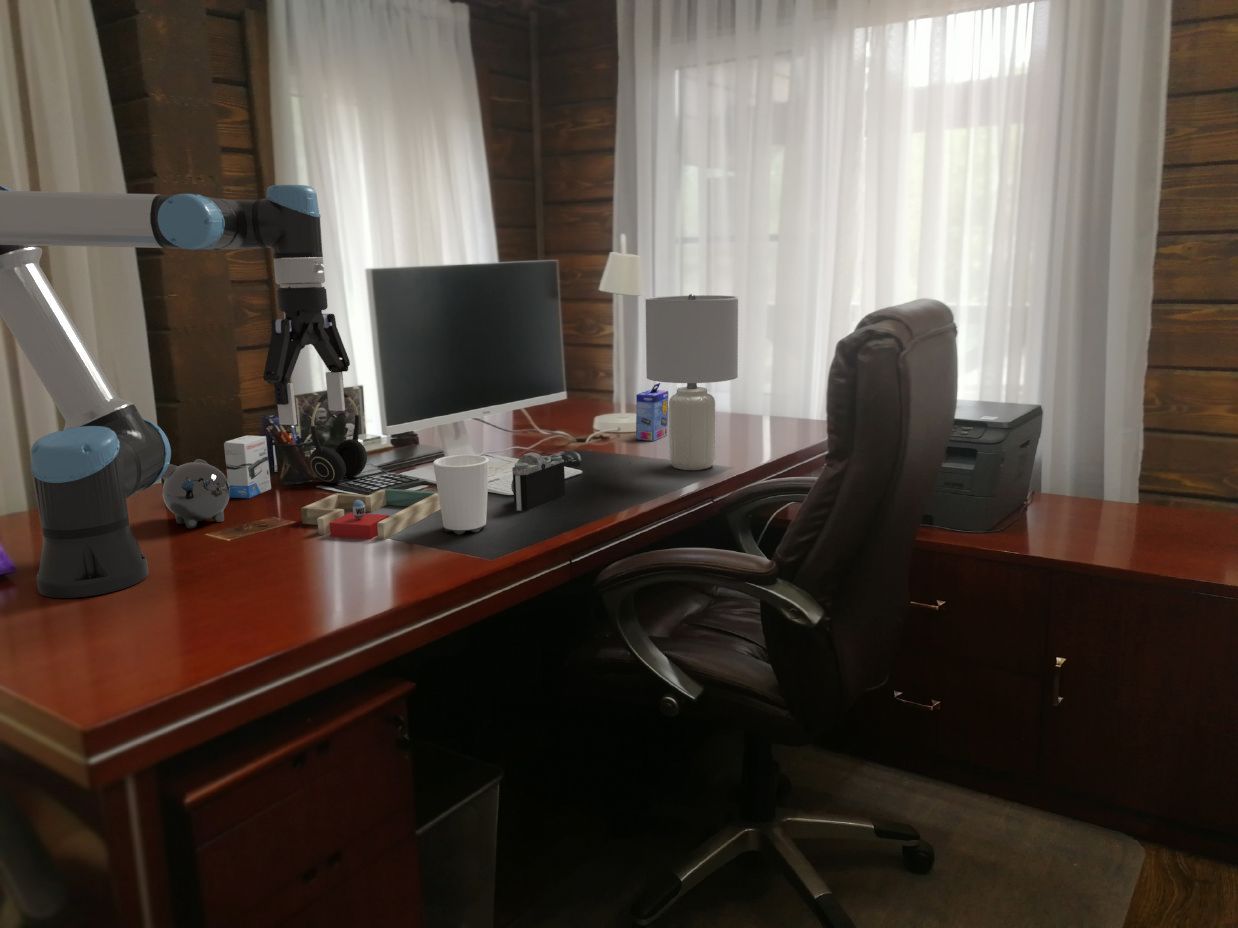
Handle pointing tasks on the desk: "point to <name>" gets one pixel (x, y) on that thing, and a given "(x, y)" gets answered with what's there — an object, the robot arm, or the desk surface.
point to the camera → (537, 481)
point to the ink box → (247, 466)
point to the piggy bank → (195, 492)
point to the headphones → (338, 453)
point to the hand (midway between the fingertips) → (313, 417)
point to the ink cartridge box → (651, 414)
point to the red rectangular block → (356, 523)
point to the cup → (462, 491)
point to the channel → (343, 504)
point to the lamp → (692, 367)
